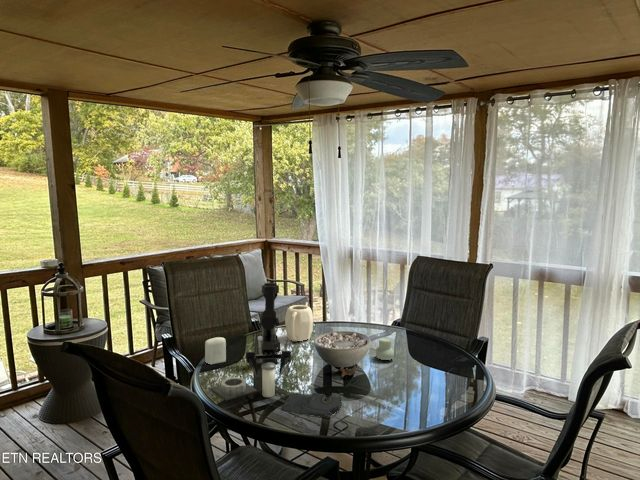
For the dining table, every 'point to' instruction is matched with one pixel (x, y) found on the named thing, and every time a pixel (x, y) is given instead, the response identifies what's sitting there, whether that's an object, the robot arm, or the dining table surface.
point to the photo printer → (215, 350)
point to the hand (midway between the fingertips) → (268, 376)
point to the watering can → (299, 322)
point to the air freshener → (384, 349)
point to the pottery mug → (348, 370)
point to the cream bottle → (268, 379)
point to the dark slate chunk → (312, 404)
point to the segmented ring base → (233, 388)
